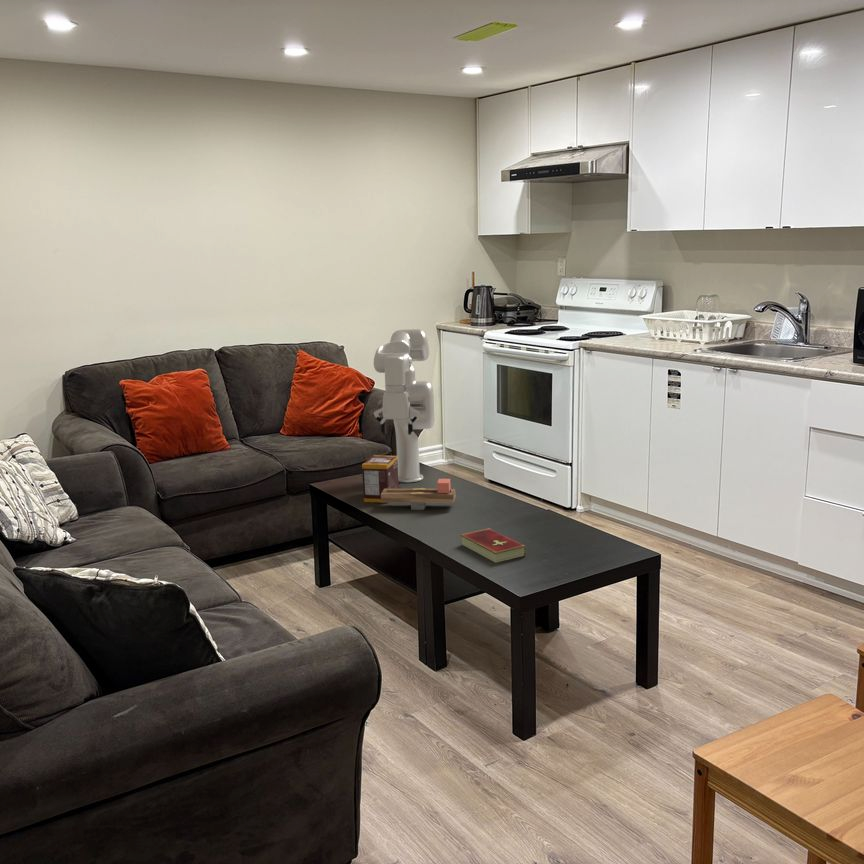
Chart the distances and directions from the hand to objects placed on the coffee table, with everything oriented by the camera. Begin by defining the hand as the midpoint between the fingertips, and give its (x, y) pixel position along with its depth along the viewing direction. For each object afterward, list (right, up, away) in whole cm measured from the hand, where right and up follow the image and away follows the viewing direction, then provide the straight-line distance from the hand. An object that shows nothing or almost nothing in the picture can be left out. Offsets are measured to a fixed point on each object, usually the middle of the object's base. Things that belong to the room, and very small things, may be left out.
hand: (397, 433), depth 322 cm
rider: (+18, -24, +8) cm, 31 cm away
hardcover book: (+33, -39, -39) cm, 64 cm away
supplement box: (-7, -26, +25) cm, 37 cm away
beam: (+8, -28, +10) cm, 31 cm away
